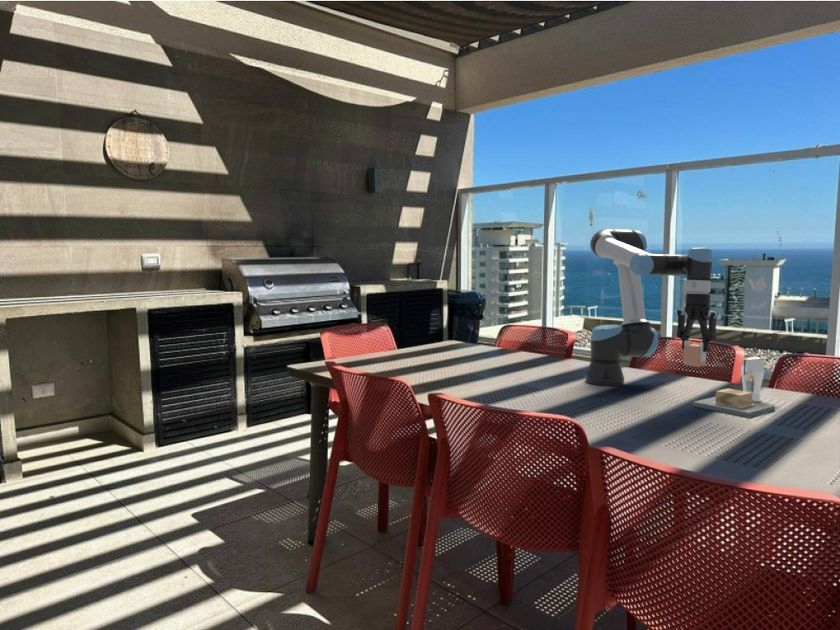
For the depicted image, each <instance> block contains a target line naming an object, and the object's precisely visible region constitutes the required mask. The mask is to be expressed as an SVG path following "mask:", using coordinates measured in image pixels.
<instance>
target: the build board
mask: <svg viewBox="0 0 840 630" xmlns="http://www.w3.org/2000/svg"><path fill="white" fill-rule="evenodd" d="M715 400H716V396H714V397H709V398H704V399H698V400H695V401H692V407H695V408H699V409H700V408H701V409H704V410H710V411H714V412H720V413H724V414H729V415H734V416H739V417H744V418H748V419H749V418H752V417H756V416H759V415H762V414H766V413H767V414H768V413H771V412H773V411H776V410H775V409H776V407H775V406H776V405H771V404H766V403H761V402H752V405H748V406H744V407H735V406H730V405H725V404H720V403H715Z"/></svg>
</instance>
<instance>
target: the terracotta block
mask: <svg viewBox="0 0 840 630" xmlns="http://www.w3.org/2000/svg"><path fill="white" fill-rule="evenodd" d="M683 366H689V367H696V368H700V367H705V366H706V361H703V362H701V361H700V344H695V343H694V344H693V343H691V344H689V345H684V349H683Z"/></svg>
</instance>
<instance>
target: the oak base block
mask: <svg viewBox="0 0 840 630" xmlns="http://www.w3.org/2000/svg"><path fill="white" fill-rule="evenodd" d="M715 397H716V400H715V403H720V404H725V405H730V406H735V407H744V406H748V405H752V392H746V391H743V390H740V389H733V388H723V389H718V390H716V391H715Z"/></svg>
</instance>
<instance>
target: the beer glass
mask: <svg viewBox="0 0 840 630" xmlns="http://www.w3.org/2000/svg"><path fill="white" fill-rule="evenodd" d="M740 369H741V372H740V373H741V381H742V391H746V392H752V402H756V403H761V401H762V399H761V388H762V384H763V379H764V375H765V359H764V358H762V357H753V356H752V357H751V356H743V357H742V362H741V368H740Z"/></svg>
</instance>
